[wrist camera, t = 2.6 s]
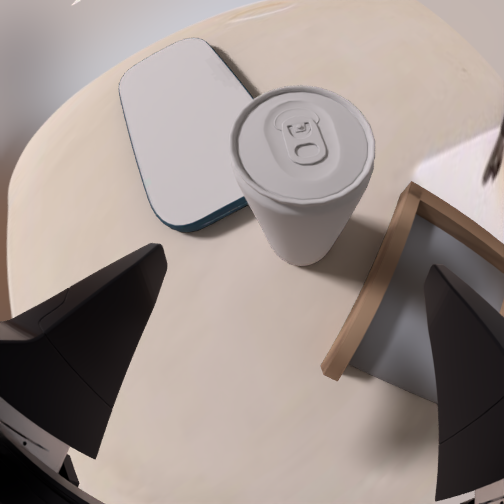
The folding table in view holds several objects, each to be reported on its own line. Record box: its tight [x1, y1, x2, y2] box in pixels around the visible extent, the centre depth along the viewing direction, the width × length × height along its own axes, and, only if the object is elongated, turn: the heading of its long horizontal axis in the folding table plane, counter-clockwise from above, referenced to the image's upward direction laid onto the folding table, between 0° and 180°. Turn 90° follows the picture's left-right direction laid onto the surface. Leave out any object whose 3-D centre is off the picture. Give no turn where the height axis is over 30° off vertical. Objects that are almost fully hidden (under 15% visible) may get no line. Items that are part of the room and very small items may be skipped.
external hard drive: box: [119, 38, 254, 232], centre depth 23 cm, size 24×12×2 cm, turn 26°
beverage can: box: [229, 85, 375, 266], centre depth 13 cm, size 5×5×12 cm
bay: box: [321, 181, 504, 404], centre depth 15 cm, size 14×14×2 cm
